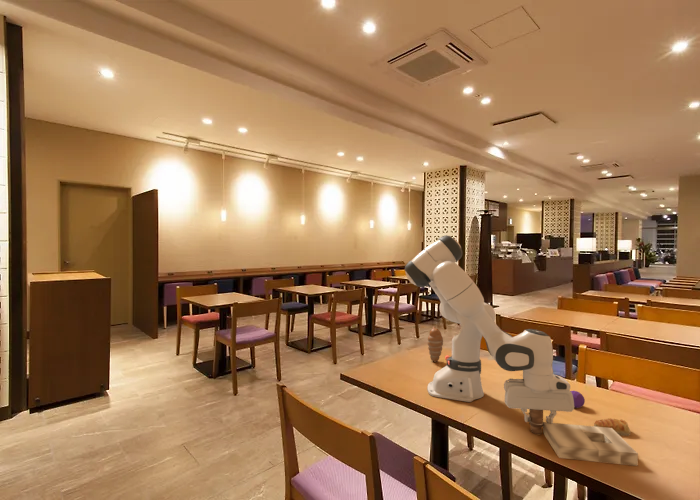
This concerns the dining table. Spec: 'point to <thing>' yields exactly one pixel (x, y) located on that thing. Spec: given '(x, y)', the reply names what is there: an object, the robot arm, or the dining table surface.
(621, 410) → the dining table surface
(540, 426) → the peg
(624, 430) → the pastry
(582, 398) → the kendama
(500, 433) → the dining table surface
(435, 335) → the brown ribbed tapered oval
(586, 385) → the dining table surface
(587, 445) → the seat board
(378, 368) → the dining table surface
